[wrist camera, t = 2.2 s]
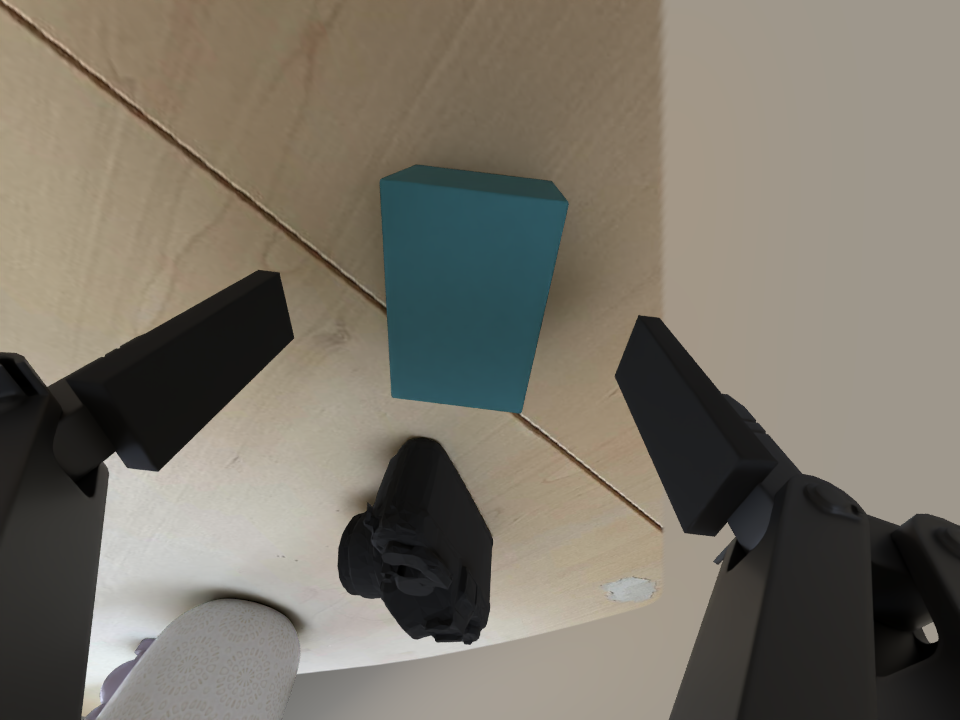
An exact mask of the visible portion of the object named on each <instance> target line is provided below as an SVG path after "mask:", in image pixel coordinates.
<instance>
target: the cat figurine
mask: <svg viewBox="0 0 960 720" xmlns="http://www.w3.org/2000/svg"><path fill="white" fill-rule="evenodd" d="M155 640H156V639H144V640H142V642H141V643H140V645H139V646H138V647H137V649H136V650H135V653H136V655H138V656H137V657H136V658H135V660H131V661H128V662H126V663H124V664H122V665H120V666H119V667H117V668H116V669H115V670H113V671H112V672H111V673H110V674H109V675H108V677H107V678H106V679H105V681H104V683H103V685H102V687H101V691H100V701H101V703H102V704H101V705H100V706H98V707H97V708H95V709H94V710H93V711H91V712H90V713H89V714H88V715H87V716H86V717H85V719H84V720H95V719H96V718H97V717H98V715H99V714H100V712H101V711H102V710H103V708H104V707H105V706H106V704H107V703H108V701H109V700H110V699H111V697H112V696H113V694H114V693H115V692H116V690H117V689H118V687H119V686H120V685H121V683H122V682H123V681H124V679H125V678H126V677H127V675H128V674H129V673H130V671H131V670H132V669H133V667H134V666H135V665H136V663H137V662H138V661H139V659H140V658H141V657H142V655H143V654H144V653H145V652H146V650H147V649H148V648H149V647H150V645H151V644H152V643H153V642H154V641H155Z"/></svg>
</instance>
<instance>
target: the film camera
mask: <svg viewBox="0 0 960 720" xmlns="http://www.w3.org/2000/svg"><path fill="white" fill-rule="evenodd" d="M492 546H493V538H492V537H491V534H490V532H489V530H488V529H487V527H486V524H485V522H484V520H483V518H482V516H481V515H480V513H479V511H478V509H477V507H476V505H475V503H474V501H473V499H472V497H471V495H470V493H469V492H468V490H467V488H466V486H465V485H464V483H463V481H462V479H461V477H460V476H459V474H458V472H457V470H456V469H455V467H454V465H453V464H452V462H451V461H450V459H449V457H448V456H447V454H446V453H445V451H444V450H443V448H442V447H441V446H440V444H438V443H436V442H435V441H433V440H429V439H425V438H417V439H412V440H408V441H407V442H406V443H405V444H404V445H402V447H401V448H400V449H399V451H398V453H397V454H396V455H395V456H394V457H392V458H391V460H390V462H389V465H388V467H387V470H386V472H385V475H384V477H383V480H382V483H381V485H380V488H379V491H378V493H377V497H376V501H375V503H374V505H373V507H372V506H371V505H370V504H369V503H368V502H367V511H366V512H365V513H361V514H358V515H355V516H354V517H353V518H352V519H351V521H350V522H349V523H348V525H347V526H346V528H345V530H344V532H343V534H342V537H341V541H340V545H339V549H338V571H339V578H340V581H341V583H342V585H343V587H344V588H345V589H346V590H347V592H348V593H350V594H351V595H360V596H362V597H364V598H369V599H374V598H381V599H382V600H383V601H384V603H385V605H386V607H387V608H388V610H389V611H390V613H391V614H392V616H393V617H394V618H395V619H396V621H397V622H398V624H399V625H400V626H401V628H402V629H403V630H404V631H405V632H406V633H407V634H408V635H409V636H411V637H412V638H413V639H417V640H418V639H420V638H423V637H427V636H430V635H431V636H432V637H434V638H435V641H436V642H461V641H462V642H464V644H468V645H471V643H472V642H474V641H477V640H478V639H479V636H480V631H481V630H482V629H483V628H485V627H486V625H487V621H488V616H489V612H490V579H491V558H492Z"/></svg>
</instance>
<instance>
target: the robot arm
mask: <svg viewBox="0 0 960 720" xmlns="http://www.w3.org/2000/svg"><path fill="white" fill-rule="evenodd" d="M293 339H294V335H293V330H292V326H291V321H290V317H289V312H288V308H287V304H286V299H285V295H284V290H283V286H282V282H281V277H280V273H279V272H271V271H263V270H257V271H256V272H254V273H252V274H250V275H249V276H247V277H245V278H243V279H241V280H240V281H238V282H236V283H234V284H233V285H231V286H229V287H227V288H226V289H224V290H222V291H220V292H218V293H217V294H215V295H213V296H211V297H210V298H208V299H206V300H204V301H202V302H201V303H199V304H197V305H195V306H194V307H192V308H190V309H188V310H186V311H185V312H183V313H181V314H179V315H178V316H176V317H174V318H172V319H171V320H169V321H167V322H165V323H163V324H162V325H160V326H158V327H156V328H155V329H153V330H151V331H149V332H147V333H146V334H143V335H140V336H138V337H136V338H134V339H132V340H130V341H129V342H127V343H125V344H123V345H122V346H120V348H119V349H117V348H116V349H114V350H113V351H111V352H109V353H107V354H105V357H100V358H98V359H97V360H95V361H93V362H91V363H89V364H88V365H86V366H84V367H82V368H80V369H79V370H77V371H75V372H73V373H72V374H70V375H68V376H66V377H64V378H63V379H61V380H59V381H57V382H55V383H54V384H52V385H50V386H48V387H46V385H45V384H44V383H43V381H42V380H41V379H40V377H39V376H38V375H37V373H36V372H35V371H34V369H33V368H32V367H31V365H30V364H29V363H28V361H27V360H26V359H25V357H24V356H22V355H19V354H17V353H5V352H0V720H81V714H82V706H83V697H84V688H85V679H86V671H87V662H88V653H89V644H90V636H91V627H92V618H93V609H94V601H95V592H96V583H97V574H98V566H99V557H100V548H101V539H102V531H103V522H104V513H105V504H106V496H107V487H108V478H109V472H108V468H107V467H106V465H105V464H104V463H103V461H104V460H106V459H107V458H108V457H109V456H110V455H112V454H113V453H114V452H115V451H116V453H117V454H118V455H119V457H120V458H121V460H122V461H123V463H124V464H125V465H126V467H127V468H132V469H140V470H149V471H157V472H158V471H159V470H160V469H161V468H162V467H163V466H164V465H165V464H167V463H168V462H169V461H170V460H171V459H172V458H173V457H174V456H175V455H176V454H177V453H178V452H179V451H180V450H181V449H182V448H183V447H184V446H185V445H186V444H187V443H188V442H189V441H190V440H191V439H192V438H193V437H194V436H195V435H196V434H197V433H198V432H199V431H200V430H201V429H202V428H203V427H204V426H205V425H206V424H207V423H208V422H209V421H210V420H211V419H212V418H213V417H214V416H215V415H216V414H217V413H218V412H219V411H221V410H222V409H223V408H224V407H225V406H226V405H227V404H228V403H229V402H230V401H231V400H232V399H233V398H234V397H235V396H236V395H237V394H238V393H239V392H240V391H241V390H242V389H243V388H244V387H245V386H246V385H247V384H248V383H249V382H250V381H251V380H252V379H253V378H254V377H255V376H256V375H257V374H258V373H259V372H260V371H261V370H262V369H263V368H264V367H265V366H266V365H267V364H268V363H269V362H270V361H271V360H272V359H273V358H275V357H276V356H277V355H278V354H279V353H280V352H281V351H282V350H283V349H284V348H285V347H286V346H287V345H288V344H289V343H290V342H291V341H292V340H293ZM615 378H616V380H617V382H618V385H619V387H620V389H621V391H622V394H623V396H624V398H625V400H626V403H627V405H628V407H629V409H630V412H631V414H632V416H633V418H634V421H635V423H636V425H637V427H638V430H639V432H640V434H641V437H642V439H643V441H644V443H645V446H646V448H647V450H648V452H649V455H650V457H651V459H652V461H653V464H654V466H655V468H656V470H657V473H658V475H659V477H660V479H661V482H662V484H663V486H664V488H665V491H666V493H667V495H668V497H669V499H670V502H671V504H672V506H673V509H674V511H675V513H676V515H677V518H678V520H679V522H680V524H681V527H682V529H683V531H684V533H689V534H697V535H706V536H714V537H715V536H716V535H717V533H718V532H719V531H720V530H721V529H722V528H723V527H724V525H725V524H726V523H727V522H728V524H729V526H730V527H731V529H732V531H733V533H734V535H735V536H736V537H735V538H734V539H733V540H732V541H731V543H730V544H729V545H728V546H727V547H726V548H725V549H724V550H723V551H722V552H721V553H720V555H718V556H717V558H716V559H715V560H714V561H713V562H715V563H716V564H719V563H720V562H721V561H722V560H723V562H722V565H721V568H720V571H719V574H718V577H717V580H716V583H715V586H714V589H713V592H712V595H711V598H710V600H709V604H708V606H707V609H706V613H705V615H704V618H703V621H702V624H701V627H700V630H699V633H698V636H697V639H696V642H695V644H694V648H693V650H692V653H691V656H690V659H689V662H688V665H687V668H686V671H685V674H684V677H683V680H682V683H681V686H680V689H679V691H678V695H677V697H676V700H675V703H674V706H673V709H672V712H671V715H670V718H669V720H960V526H959V525H956V524H954V523H952V522H949V521H947V520H945V519H943V518H940V517H936V516H933V515H929V514H916V515H915V516H913V517H912V518H910V519H909V520H908V521H906V522H905V523H904V524H902V525H901V526H899V525H896V524H893V523H890V522H887V521H884V520H881V519H878V518H876V517H873V516H870V515H867V514H866V513H865V512H864V510H863V509H862V508H861V507H860V505H859V504H858V503H857V502H856V501H855V500H854V499H853V498H851V497H850V496H849V495H848V494H846V493H845V492H844V491H842V490H841V489H839V488H837V487H836V486H834V485H833V484H831V483H829V482H827V481H825V480H822V479H820V478H817V477H814V476H810V475H805V474H802V473H801V472H800V471H799V470H798V468H797V467H796V466H795V465H794V464H793V463H792V461H791V460H790V459H789V458H788V457H787V456H786V454H785V453H784V452H783V451H782V450H781V449H780V448H779V446H778V445H777V444H776V443H775V442H774V441H773V439H771V437H770V436H769V435H768V434H765V432H766V431H765V430H764V429H763V428H762V427H761V425H760V424H759V423H756V420H755V419H754V417H753V416H752V415H751V414H750V413H749V412H748V410H747V409H746V408H745V407H744V406H743V405H741V404H740V403H738V402H737V401H736V400H734V399H733V398H732V397H730V396H729V395H727V394H721V392H720V391H719V390H718V389H717V388H716V386H715V385H714V384H713V383H712V381H711V380H710V379H709V378H708V376H706V374H705V373H704V372H703V370H702V369H701V368H700V367H699V366H698V365H697V363H696V362H695V361H694V359H693V358H692V357H691V356H690V355H689V353H688V352H687V351H686V350H685V349H684V347H683V346H682V345H681V344H680V342H679V341H678V340H677V339H676V338H675V336H674V335H673V334H672V333H671V332H670V330H669V329H668V328H667V327H666V325H665V324H664V323H663V322H662V320H661V319H660V318H656V317H648V316H640V315H638V318H637V320H636V323H635V326H634V328H633V331H632V333H631V336H630V338H629V341H628V343H627V346H626V348H625V351H624V354H623V356H622V359H621V361H620V364H619V366H618V369H617V371H616V374H615ZM932 622H934V624H935V626H936V629H937V633H938V636H939V639H938V641H937V642H935V643H929V642H928V640H927V638H926V636H925V634H924V632H923V630H922V627H923V626H926V625H927V624H929V623H932Z"/></svg>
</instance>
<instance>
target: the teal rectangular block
mask: <svg viewBox="0 0 960 720" xmlns="http://www.w3.org/2000/svg"><path fill="white" fill-rule="evenodd" d="M380 198H381V216H382V234H383V252H384V270H385V288H386V306H387V324H388V342H389V360H390V378H391V396H392V397H393V398H399V399H407V400H415V401H424V402H432V403H440V404H448V405H456V406H464V407H472V408H480V409H488V410H496V411H504V412H513V413H521V412H522V409H523V404H524V400H525V395H526V391H527V387H528V382H529V378H530V373H531V369H532V364H533V360H534V356H535V351H536V347H537V342H538V338H539V334H540V329H541V325H542V320H543V316H544V311H545V307H546V303H547V298H548V294H549V289H550V285H551V281H552V276H553V272H554V267H555V263H556V258H557V254H558V250H559V245H560V241H561V236H562V232H563V228H564V223H565V219H566V214H567V210H568V205H569V203H568V201H567V200H566V198H565V197H564V196H563V195H562V193H561V192H560V191H559V189H558V188H557V187H556V186H555V184H554V183H553V182H552V181H547V180H539V179H531V178H522V177H514V176H506V175H498V174H490V173H481V172H473V171H465V170H457V169H449V168H440V167H432V166H424V165H414V166H411V167H409V168H407V169H404V170H402V171H399V172H397V173H394V174H392V175H389V176H387V177H384V178H382V179H380Z"/></svg>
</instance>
